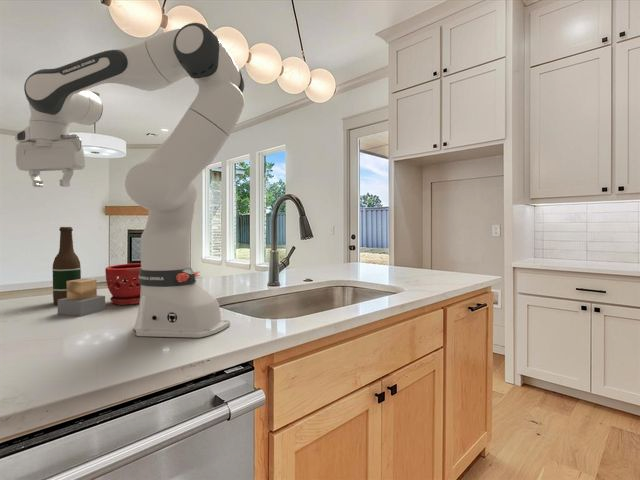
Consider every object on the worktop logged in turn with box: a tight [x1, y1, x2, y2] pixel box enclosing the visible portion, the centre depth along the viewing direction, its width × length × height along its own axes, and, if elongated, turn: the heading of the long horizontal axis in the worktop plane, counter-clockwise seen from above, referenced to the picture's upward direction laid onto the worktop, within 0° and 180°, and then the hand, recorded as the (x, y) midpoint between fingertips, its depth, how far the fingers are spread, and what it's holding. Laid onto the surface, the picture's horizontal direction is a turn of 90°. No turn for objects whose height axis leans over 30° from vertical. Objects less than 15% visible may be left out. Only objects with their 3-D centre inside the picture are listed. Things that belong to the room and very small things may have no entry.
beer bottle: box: [52, 226, 82, 306], centre depth 114 cm, size 8×8×24 cm
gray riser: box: [57, 295, 106, 317], centre depth 103 cm, size 8×8×4 cm
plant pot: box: [105, 262, 141, 306], centre depth 116 cm, size 13×13×12 cm
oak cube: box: [67, 278, 98, 300], centre depth 103 cm, size 5×5×5 cm
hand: (51, 186), depth 100 cm, fingers open, 8 cm apart
